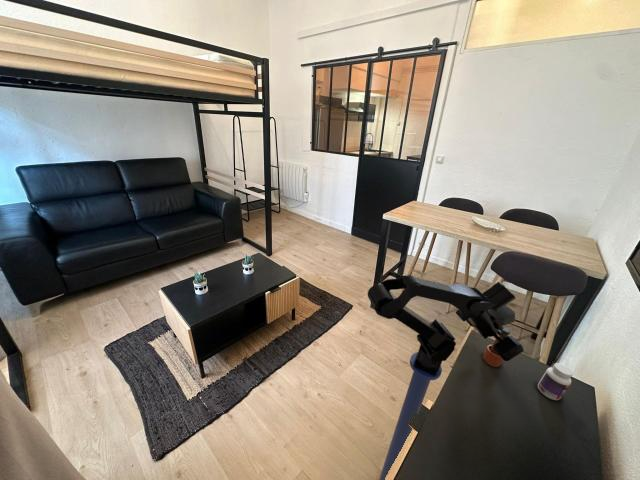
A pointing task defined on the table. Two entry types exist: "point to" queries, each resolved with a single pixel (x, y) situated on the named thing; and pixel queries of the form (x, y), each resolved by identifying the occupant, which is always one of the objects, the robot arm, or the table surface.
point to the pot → (492, 357)
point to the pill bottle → (555, 381)
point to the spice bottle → (505, 333)
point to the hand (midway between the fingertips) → (498, 342)
